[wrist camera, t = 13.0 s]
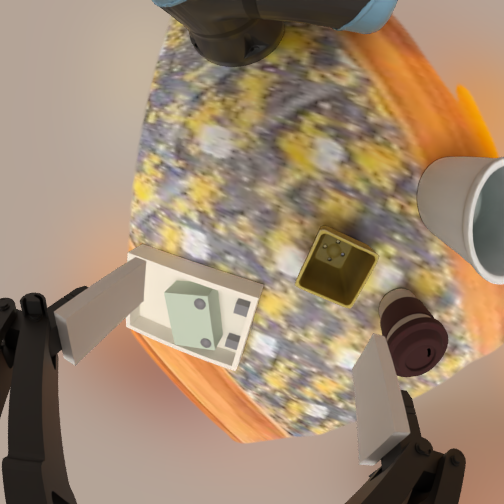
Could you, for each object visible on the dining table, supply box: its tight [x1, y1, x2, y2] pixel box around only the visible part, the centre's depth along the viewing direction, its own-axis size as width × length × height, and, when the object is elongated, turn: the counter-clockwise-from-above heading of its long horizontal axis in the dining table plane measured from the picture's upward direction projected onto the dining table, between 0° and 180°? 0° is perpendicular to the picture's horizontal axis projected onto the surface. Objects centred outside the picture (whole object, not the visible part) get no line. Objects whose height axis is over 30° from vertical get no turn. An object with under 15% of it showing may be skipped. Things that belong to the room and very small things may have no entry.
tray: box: [126, 244, 264, 371], centre depth 50 cm, size 17×24×5 cm
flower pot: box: [295, 225, 379, 309], centre depth 40 cm, size 9×9×9 cm
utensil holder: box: [417, 157, 504, 284], centre depth 28 cm, size 15×15×18 cm
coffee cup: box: [379, 289, 448, 377], centre depth 37 cm, size 10×10×15 cm
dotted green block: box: [164, 280, 223, 350], centre depth 49 cm, size 11×8×5 cm
